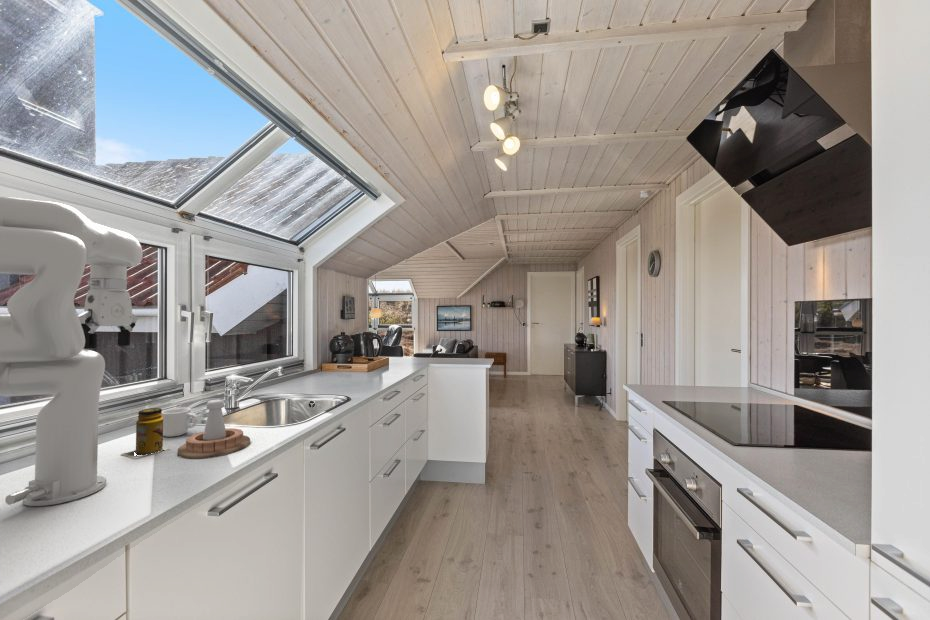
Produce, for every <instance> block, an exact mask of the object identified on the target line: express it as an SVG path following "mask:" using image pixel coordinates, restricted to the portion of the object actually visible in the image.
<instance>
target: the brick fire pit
mask: <svg viewBox="0 0 930 620" xmlns="http://www.w3.org/2000/svg"><path fill="white" fill-rule="evenodd" d="M225 430H226V437H225V438H224V439H219V440H212V441H204V440H203V434H204V431H201V432H198V433H194V434H192V435H189V436H188V437H187V438H186V439H185V443H184V444H182V445H180V446H179V447H178V448H177V456H178V455H179V457H180V456H181V457H180V458H184V459H194V460H195V459H208V457H210V458H215V457H214V456H216V457H221V456H220V455H222V456H225V455H224V454H226V455H228V454H229V453H230V454H233V453H236V452H240V451H242V450H244V449H245V448H247V447H248V446H249V445H250V444H251V438H250V437H249V436H247V435H244V431H243V430H242V429H239V428H232V427H231V428H225ZM246 446H247V447H246ZM232 452H233V453H232Z"/></svg>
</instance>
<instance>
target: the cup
mask: <svg viewBox="0 0 930 620" xmlns="http://www.w3.org/2000/svg"><path fill="white" fill-rule="evenodd" d="M191 410H192V409H191V408H190V407H174V408H168V409H165V410H164V409H163V410H162V417H163V437H166V438H167V437H168V438H171V437H179V436H182V435H185V434H186V433H187V432H188V431H189V429H192V428H194V427H196V426H197V425H198V422H199V417H198V415H197V414H196V413H194V412H192V411H191ZM191 417H192V418H193V424H191V422H190V419H191Z"/></svg>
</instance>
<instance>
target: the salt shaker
mask: <svg viewBox="0 0 930 620" xmlns="http://www.w3.org/2000/svg"><path fill="white" fill-rule="evenodd" d="M224 404H225V402H224V400H223V399H219V398H217V399H211V400H208V402H207V403H206V409H207V410H208V412H207V413H208V414H207V419H206V422H205V427H204V431H203V432H204V434H203V440H204V441H212V440H219V439H224V438H225V437H226V430H225V429H226V426H225V419H224V415H223V410H222V409H223V408H224V406H225V405H224Z"/></svg>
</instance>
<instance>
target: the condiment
mask: <svg viewBox="0 0 930 620" xmlns="http://www.w3.org/2000/svg"><path fill="white" fill-rule="evenodd" d="M162 411H163V409H162V408H160V407H151V408H145V409H141V410H139V411H138V412H137V413H138V416H137V418H138V420H137V421H136V424H135V425H136V426H135V427H136V428H135V431H136V432H135V449H134V450H132V451H128V452H124V453H121V454H120V455H121V456H124V457H127V456H128V457H127V458H131V459H135V460H137V459H139V458H143V457H146V456H151V455H152V454H151V453H155V452H157V453H155V454H158V453H159V452H158V451H161V450H163V448H165V449H167V450H165V449H164V450H165V451H168V450H170V448H168V447H164V445H163V444H164V435H163V417H162ZM134 452H135V453H136V454H137V455H143V456H137V455H136V456H134ZM146 454H149V455H146Z"/></svg>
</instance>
